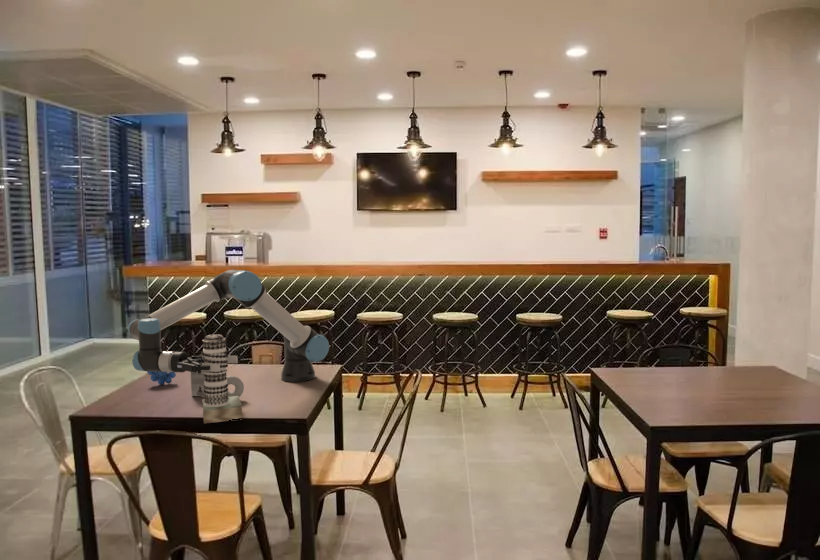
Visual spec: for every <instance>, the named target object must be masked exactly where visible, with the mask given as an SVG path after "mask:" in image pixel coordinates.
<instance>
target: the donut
mask: <svg viewBox="0 0 820 560" xmlns="http://www.w3.org/2000/svg"><path fill="white" fill-rule="evenodd" d="M226 378H227V384H228V386H230V385H232V386H234V388H235V389H234V390H233V391H229V390H228V391H227V392H228V394H229V395H228V397H232V396H239V398H240V397H241V396H243V393H244V389H245V386H244V382H243V380H242V379H241V378H239V377H237V376H236V375H228V376H227V375H226Z"/></svg>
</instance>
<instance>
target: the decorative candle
mask: <svg viewBox="0 0 820 560" xmlns="http://www.w3.org/2000/svg"><path fill="white" fill-rule="evenodd" d="M201 341H202V343H203V349H202V351H200V354H202V355H204V356H202V360H203V361H202V363H213V364H220V372H212V371H203V373H204V374H205V381H204V389H205V390H204V393H205V395H204V397H203V398H204V402H205V404H204V406H206V407H221V406H225V405H227V404H228V403H229V401H228V399H229V398H228V395H229V394H228V392H227V391H229V388H228V387H229V385H228V384H227V378H226V377H227V373H228V371H229V370H228V369H227V368H228V367H229V364H228V363H227V362H228V361H227V360H225V357H226V358H227V357H228V356H229V355H228V353H229V351H228V350H227V346H226V338H225V337H224V336H223V335H222V334H217V333H216V334H208V335H206V336H205V337H204V338H203V339H202V340H201Z"/></svg>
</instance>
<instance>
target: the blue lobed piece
mask: <svg viewBox="0 0 820 560" xmlns="http://www.w3.org/2000/svg"><path fill="white" fill-rule="evenodd" d="M146 374H147V375H149V376H150V380H151V381H152V382H157V384H158V385H161V386H163V385H164V384H165V383H166V384H171V383H172V382H173V380H172V379H174V378H175V377H176V372H170V373H167V372H157V371H148V372H146Z"/></svg>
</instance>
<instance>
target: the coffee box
mask: <svg viewBox="0 0 820 560" xmlns="http://www.w3.org/2000/svg"><path fill="white" fill-rule="evenodd" d="M199 355H202V354H201V353H200V354H199ZM200 364H201V362H200ZM204 381H205V374H204V373H203V371H202V370H201V373H200V374H198V371H197V372H196V373H194V372H190V387H191V388H190V389H191V397H192V396H202V397H201V398H204V395H205V393H204V390H205V389H204Z"/></svg>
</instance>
